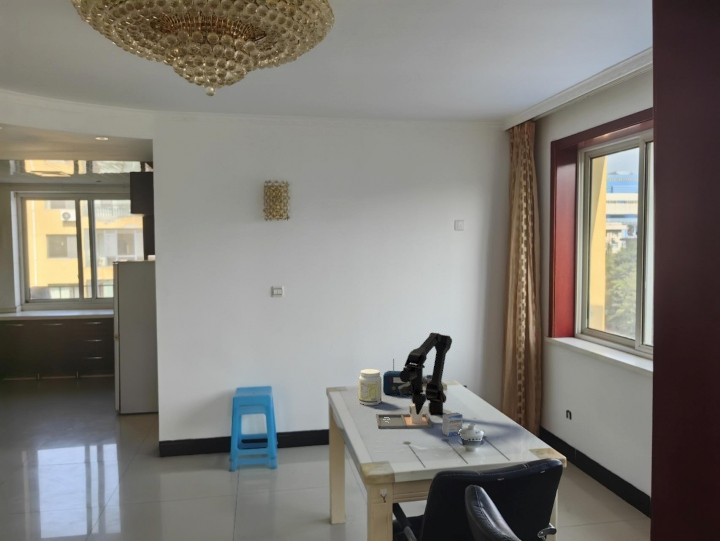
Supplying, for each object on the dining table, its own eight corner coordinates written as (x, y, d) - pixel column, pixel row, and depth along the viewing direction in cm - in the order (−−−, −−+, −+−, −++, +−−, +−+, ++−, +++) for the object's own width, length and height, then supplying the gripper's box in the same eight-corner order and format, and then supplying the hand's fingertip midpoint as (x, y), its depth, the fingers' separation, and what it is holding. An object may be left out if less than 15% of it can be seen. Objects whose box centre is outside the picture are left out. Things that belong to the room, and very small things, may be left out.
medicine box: (448, 436, 230) (448, 417, 230) (442, 433, 234) (442, 414, 234) (462, 433, 234) (462, 414, 233) (456, 430, 238) (456, 411, 237)
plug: (420, 420, 250) (421, 403, 250) (422, 422, 246) (422, 406, 246) (409, 420, 250) (409, 403, 250) (410, 423, 246) (410, 406, 246)
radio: (382, 395, 295) (383, 359, 294) (384, 391, 303) (384, 356, 303) (420, 397, 291) (420, 361, 290) (421, 392, 300) (421, 358, 299)
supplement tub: (367, 398, 289) (367, 367, 288) (385, 401, 282) (386, 370, 281) (354, 403, 279) (354, 371, 279) (373, 407, 272) (373, 375, 271)
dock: (427, 416, 257) (427, 413, 257) (433, 428, 240) (433, 425, 240) (375, 417, 256) (375, 414, 256) (378, 429, 239) (378, 425, 239)
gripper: (397, 373, 257) (397, 405, 257) (401, 383, 238) (401, 417, 239) (420, 373, 257) (419, 405, 258) (426, 383, 238) (425, 417, 239)
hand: (416, 411), depth 248 cm, fingers open, 9 cm apart
